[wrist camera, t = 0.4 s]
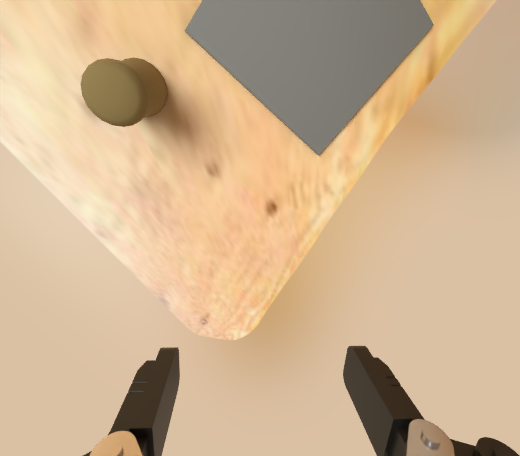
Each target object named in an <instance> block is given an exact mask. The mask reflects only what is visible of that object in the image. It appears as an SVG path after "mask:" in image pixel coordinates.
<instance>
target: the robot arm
mask: <svg viewBox="0 0 520 456" xmlns="http://www.w3.org/2000/svg"><path fill="white" fill-rule="evenodd" d="M179 377H180V373H179V350H178V348H161V349H160V351H159V353H158V356H157V358H156V361H146V362H145V363H144V365H142V367H140V369H139V370H138V371H137V373H136V375H135V377H134V380H133V383H132V384H131V386H130V389H129V391H128V393H127V395H126V397H125V400H124V402H123V404H122V406H121V409H120V411H119V413H118V415H117V418H116V420H115V422H114V424H113V426H112V428H111V431H110V432H109V434H108V436H106V437H105V438H103V439H102V440H101V441H100V442H99V443H98V444H97V445H96V446H95V447H94V449H93V450H92V451H91V452H89V453H87V454H86V455H84V456H161V455H162V451H163V447H164V443H165V439H166V435H167V431H168V427H169V423H170V419H171V415H172V411H173V407H174V403H175V399H176V395H177V391H178V386H179ZM343 377H344V383H345V386H346V388H347V390H348V392H349V394H350V397H351V399H352V401H353V404H354V406H355V408H356V410H357V412H358V415H359V417H360V419H361V421H362V423H363V426H364V428H365V430H366V432H367V435H368V437H369V439H370V441H371V443H372V445H373V448H374V450H375V452H376V454H377V456H519V455H518V454H517V453H516V452H515V451H514V450H512V449H511V448H510V447H508V446H507V445H505V444H504V443H502V442H500V441H498V440H495V439H492V438H487V437H484V438H480V439H479V440H478V442H477V445H476V446H473V445H469V444H466V443H462V442H459V441H455V440H452V439H449V437H448V436H447V435H446V434H445V432H443V431H442V430H441V429H440V428H439V427H438V426H436V425H435V424H433V423H431V422H429V421H426V420H424V418H423V417H422V415H421V414H420V412H419V411H418V410H417V408H416V407H415V405H414V404H413V402H412V401H411V399H410V398H409V397H408V395H407V393H406V392H405V391H404V389H403V388H402V387H401V385H400V383H399V382H398V380H397V379H396V378H395V376H394V375H393V373H392V372H391V370H390V369H389V367H388V366H387V365H386V364H385V363H383V362H382V361H381V360H380V359H379V358H373V356H372V355H371V353H370V352H369V350H368V349H367V347H366V346H349V347H348V349H347V355H346V360H345V365H344V372H343Z"/></svg>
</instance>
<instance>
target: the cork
mask: <svg viewBox="0 0 520 456" xmlns="http://www.w3.org/2000/svg"><path fill="white" fill-rule="evenodd" d="M81 90H82V96H83V98H84V100H85V102H86V104H87V106H88V107H89V108H90V110H91V111H92V112H93V113H94V114H95V115H96V116H97V117H99V118H100V119H101V120H102V121H104V122H107V123H109V124H111V125H115V126H123V127H125V126H130V125H134V124H136V123H137V122H139V121H141V120H142V119H143V117H146V116H152V115H155V114H156V113H158V112H160V110H161V109H162V108H163V107H164V105H165V102H166V99H167V87H166V84H165V80H164V78H163V77H162V75H161V74H160V72H159V71H158V70H157V69H156V68H155V67H154V66H153V65H152V64H151V63H149V62H147V61H145V60H143V59H138V58H129V59H125V60H123V61H119V60H113V59H108V58H107V59H101V60H97V61H95V62H93V63H92V64H90V65H89V66H88V67H87V69H86V70H85V72H84V73H83V75H82V81H81Z"/></svg>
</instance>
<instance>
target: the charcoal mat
mask: <svg viewBox="0 0 520 456" xmlns="http://www.w3.org/2000/svg"><path fill="white" fill-rule="evenodd" d="M432 26H433V23H432V21H431V19H430V17H429V16H428V14H427V12H426V10H425V8H424V7H423V5H422V3H421V1H420V0H203V1H202V2H201V4H200V6H199V7H198V9H197V11H196V13H195V14H194V16H193V18H192V19H191V21H190V23H189V25H188V26H187V28H186V30H185V32H186V33H188V34H189V35H190V36H191V37H192V38H193V39H194V40H195V41H196V42H197V43H198V44H199V45H200V46H202V47H203V48H204V49H205V50H206V51H207V52H208V53H209V54H210V55H211V56H212V57H213V58H214V59H215V60H217V61H218V62H219V63H220V64H221V65H222V66H223V67H224V68H225V69H226V70H227V71H228V72H229V73H231V74H232V75H233V76H234V77H235V78H236V79H237V80H238V81H239V82H240V83H241V84H242V85H243V86H244V87H246V88H247V89H248V90H249V91H250V92H251V93H252V94H253V95H254V96H255V97H256V98H257V99H258V100H259V101H261V102H262V103H263V104H264V105H265V106H266V107H267V108H268V109H269V110H270V111H271V112H272V113H273V114H275V115H276V116H277V117H278V118H279V119H280V120H281V121H282V122H283V123H284V124H285V125H286V126H287V127H288V128H290V129H291V130H292V131H293V132H294V133H295V134H296V135H297V136H298V137H299V138H300V139H301V140H302V141H304V142H305V143H306V144H307V145H308V146H309V147H310V148H311V149H312V150H313V151H314V152H315V153H316V154H318V155H320V154H321V152H322V151H323V150H324V149H325V148H326V147H327V146H328V145H329V143H330V142H331V141H332V140H333V139H334V138H335V137H336V135H337V134H338V133H339V132H340V131H341V130H342V129H343V127H344V126H345V125H346V124H347V123H348V122H349V121H350V120H351V118H352V117H353V116H354V115H355V114H356V113H357V112H358V110H359V109H360V108H361V107H362V106H363V105H364V104H365V102H366V101H367V100H368V99H369V98H370V97H371V96H372V95H373V93H374V92H375V91H376V90H377V89H378V88H379V87H380V85H381V84H382V83H383V82H384V81H385V80H386V79H387V77H388V76H389V75H390V74H391V73H392V72H393V71H394V70H395V68H396V67H397V66H398V65H399V64H400V63H401V62H402V60H403V59H404V58H405V57H406V56H407V55H408V54H409V52H410V51H411V50H412V49H413V48H414V47H415V46H416V45H417V43H418V42H419V41H420V40H421V39H422V38H423V37H424V35H425V34H426V33H427V32H428V31H429V30H430V29H431V27H432Z"/></svg>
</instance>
